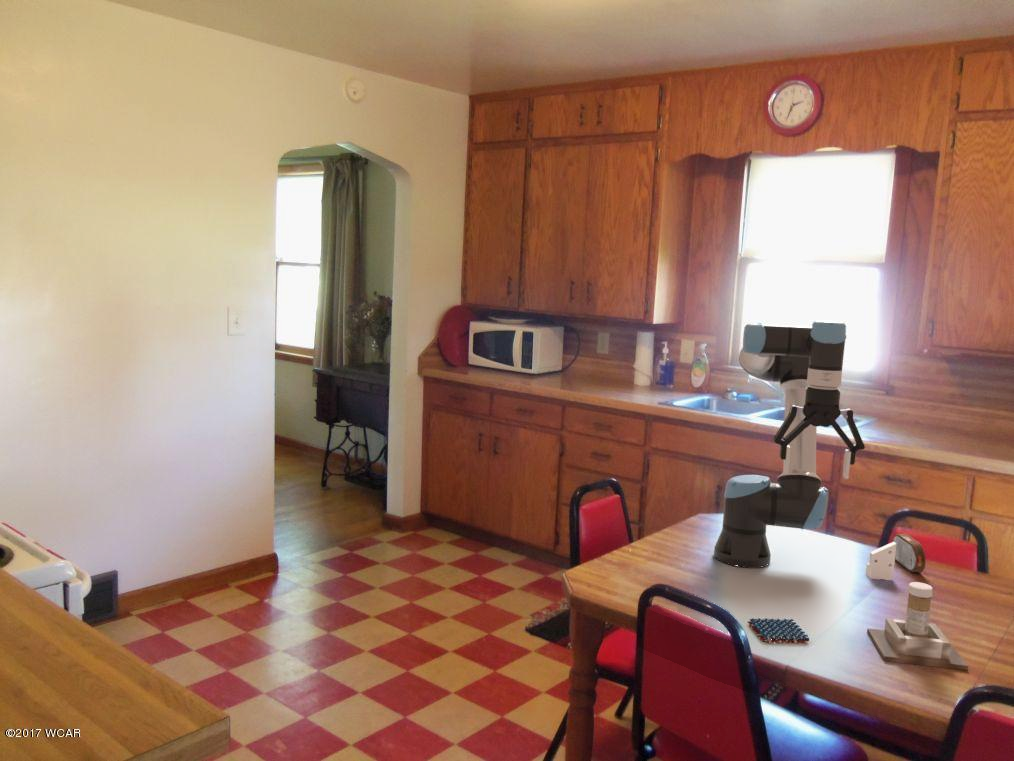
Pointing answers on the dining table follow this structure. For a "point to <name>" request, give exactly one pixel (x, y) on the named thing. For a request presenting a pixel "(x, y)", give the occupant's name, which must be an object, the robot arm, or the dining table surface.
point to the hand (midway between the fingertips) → (815, 475)
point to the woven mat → (778, 630)
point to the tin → (909, 553)
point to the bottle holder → (915, 646)
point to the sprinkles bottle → (918, 609)
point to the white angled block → (882, 562)
